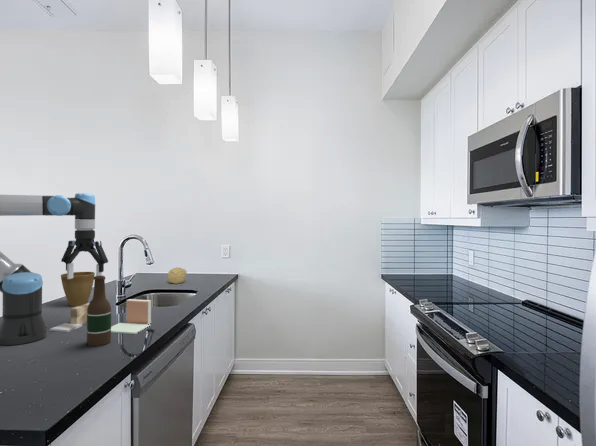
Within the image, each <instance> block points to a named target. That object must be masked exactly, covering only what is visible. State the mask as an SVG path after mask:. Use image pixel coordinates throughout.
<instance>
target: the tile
mask: <svg viewBox="0 0 596 446" xmlns="http://www.w3.org/2000/svg"><path fill="white" fill-rule="evenodd" d="M125 312H126V317H125V318H126V319H125V320H126V321H125V323H131V324H149V325H151V324H152V300H151V299H135V298H134V299H133V298H129V299H126V311H125ZM150 323H151V324H150Z"/></svg>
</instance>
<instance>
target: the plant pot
mask: <svg viewBox="0 0 596 446" xmlns="http://www.w3.org/2000/svg"><path fill="white" fill-rule="evenodd" d="M95 274H96V272H94V271H75V272H74V271H73V278H72V279H67V272H65V273H62V274H60V279H61V284H62V289H63V292H64V295H65V299H66V300H67V302H68V305H69V306H70V307H71V308H74V307H78V306H81V305H84V304H87V303H89V299H90V297H91V294H92V290H93V287H94V282H95V280H94V277H95V276H96V275H95Z"/></svg>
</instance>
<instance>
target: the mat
mask: <svg viewBox="0 0 596 446" xmlns="http://www.w3.org/2000/svg"><path fill="white" fill-rule="evenodd" d="M149 326H150V327H152V325H151V324H149V325H148V324H131V323H126V322H118V323H116V324H114V325H111V334H128V335H137V334H139V333H141V332H142V330H143V331H145V330H146V329H148V328H150V327H149ZM147 327H148V328H147ZM145 328H146V329H145ZM144 329H145V330H144ZM140 331H141V332H140ZM138 332H139V333H138Z"/></svg>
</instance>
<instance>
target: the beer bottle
mask: <svg viewBox="0 0 596 446" xmlns="http://www.w3.org/2000/svg"><path fill="white" fill-rule="evenodd" d="M105 280H106V276H104V275H102V276H101V275H100V276H96V275H95V276H94V282H93V295H92V299H91V301H90V302H88V303H89V305H88V309H87V322H86V343H87V345H88V347H100V346H106V345H107V344H110V342H111V340H112V333H111V327H112V306H111V304H110V301H109V300H108V299H107V296H106V295H107V294H106V286H105V285H106V282H105Z"/></svg>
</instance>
